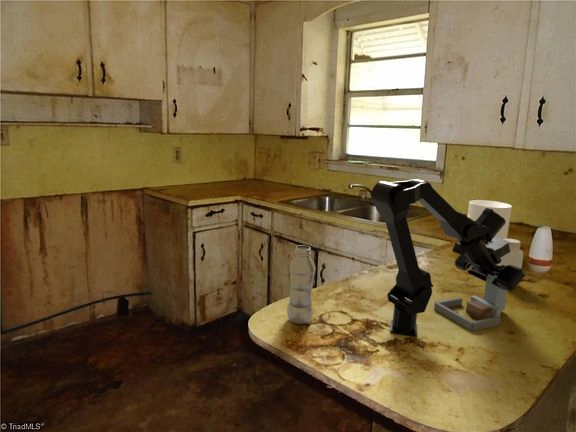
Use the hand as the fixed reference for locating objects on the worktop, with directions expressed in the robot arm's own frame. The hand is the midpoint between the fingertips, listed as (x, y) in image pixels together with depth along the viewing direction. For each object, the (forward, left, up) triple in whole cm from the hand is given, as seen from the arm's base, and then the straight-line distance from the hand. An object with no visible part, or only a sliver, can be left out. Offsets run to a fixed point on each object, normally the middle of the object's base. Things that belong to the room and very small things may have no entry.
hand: (499, 286), depth 119 cm
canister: (+63, -6, -8) cm, 64 cm away
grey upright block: (-1, +2, -7) cm, 7 cm away
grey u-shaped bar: (-8, +9, -7) cm, 14 cm away
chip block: (-5, +5, -7) cm, 10 cm away
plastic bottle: (-26, +51, -7) cm, 58 cm away
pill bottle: (+24, -7, -8) cm, 26 cm away
